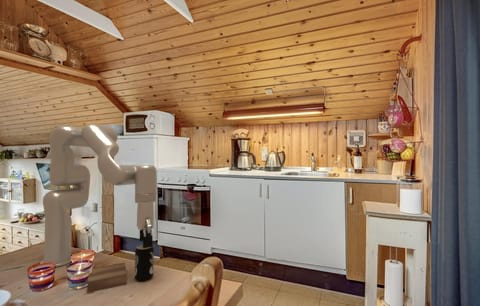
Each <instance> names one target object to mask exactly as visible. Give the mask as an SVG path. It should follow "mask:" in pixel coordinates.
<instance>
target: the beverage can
mask: <svg viewBox="0 0 480 306" xmlns="http://www.w3.org/2000/svg"><path fill="white" fill-rule="evenodd" d="M154 262H155V251H154V245H153V246H152V247H148V248H143V243H141V244H138V245H137V246H136V248H135V250H134V279H135V280H136V282H139V283H140V282H141V283H143V282H144V283H145V282H148V281H150V280H151V279H152V278H153V276H154V264H155V263H154Z"/></svg>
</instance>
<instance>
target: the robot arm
mask: <svg viewBox="0 0 480 306" xmlns="http://www.w3.org/2000/svg"><path fill="white" fill-rule="evenodd" d="M48 140H49V150H50V153H51V154H50V164H49V176H48V177H49V179H48V180H49V183H50V185H52V186H54V187H67V186H72V187H71V188H69V187H68V188H59V189H53V190H50V191H48V192H46V193H45V195H44V196H43V198H42V207H43V213H44V243H43V247H44V248H43V259H41V260H40V261H39V263H41V262H55V263H56V267H55V268H58V267H62V266H65V265H68V264H71V263H72V262H71V255H72V230H73V229H72V228H73V227H72V226H73V220H72V217H71V215H70V214H69V212H68V210H74V209H79V208H82V207H84V206H86V205H87V203H88V202H89V196H90V185H91V174H90V169H89V168H88V167H87V166H86V165H83V164H75V158H76V157H75V152H74V150H73V149H72V147H71V146H73V147H82V148H89V149H91V150H92V152H94V153H95V155H96V156H97V169H98V171H99V173H100V174H101V175H102V176H103V178H104V179H105V180H106V181H107V182H108V183H109V184H111V185H113V186H127V185H134V203H135V204H137V209H136V210H137V211H136V226H137V229H138V230H139V241H140V242H142V244H143V248H148V247H152V246H153V247H154V245H153V243H154V242H153V239H154V237H153V228H154V225H155V224H154V223H155V221H154V217H155V216H154V215H155V214H154V203H155V202H157V168H156V167H155V166H154V165H151V164H150V165H136V164H131V165H130V164H125V165H124V164H122V165H121V164H120V165H119V164H118V163H117V162H116V160H114V159H113V158H114V157H115V156H117V155H118V153H119V149H120V147H119V145H118V143H117V141H118V133H117V131H116V129H114V128H113V127H111V126H108V125H102V124H96V123H90V124H86V125H84V126H83V127H79V126H73V125H59V126H56V127H55V128H53V129H52V131H51V133H50V135H49V139H48ZM70 262H71V263H70ZM39 263H38V264H39Z"/></svg>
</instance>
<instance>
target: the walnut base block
mask: <svg viewBox="0 0 480 306" xmlns="http://www.w3.org/2000/svg"><path fill="white" fill-rule="evenodd" d="M92 268H93V269H92V272H91V275H89V274H88V277H87V285H86V286H87V287H86V289H87V290H86V292H87V294H88V293H94V292H98V291H102V290H108V289H111V288H116V287H121V286H125V285H127V284H128V271H127V268H126V262H120V263H115V264H110V265H109V264H108V265H103V266H98V267H96V266H95V267H92Z"/></svg>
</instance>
